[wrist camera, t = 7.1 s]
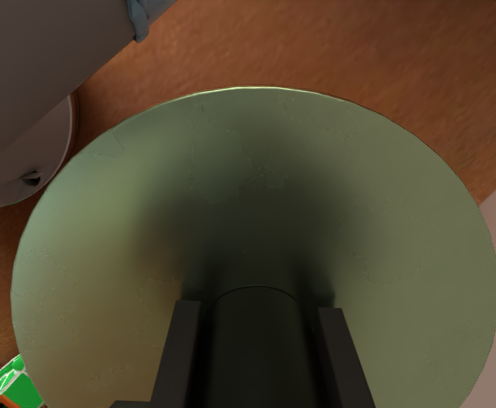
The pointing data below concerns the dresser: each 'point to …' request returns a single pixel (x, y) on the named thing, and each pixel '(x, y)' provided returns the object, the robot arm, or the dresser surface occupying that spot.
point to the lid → (254, 256)
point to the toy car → (17, 387)
